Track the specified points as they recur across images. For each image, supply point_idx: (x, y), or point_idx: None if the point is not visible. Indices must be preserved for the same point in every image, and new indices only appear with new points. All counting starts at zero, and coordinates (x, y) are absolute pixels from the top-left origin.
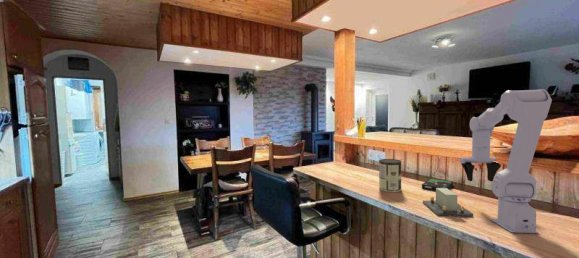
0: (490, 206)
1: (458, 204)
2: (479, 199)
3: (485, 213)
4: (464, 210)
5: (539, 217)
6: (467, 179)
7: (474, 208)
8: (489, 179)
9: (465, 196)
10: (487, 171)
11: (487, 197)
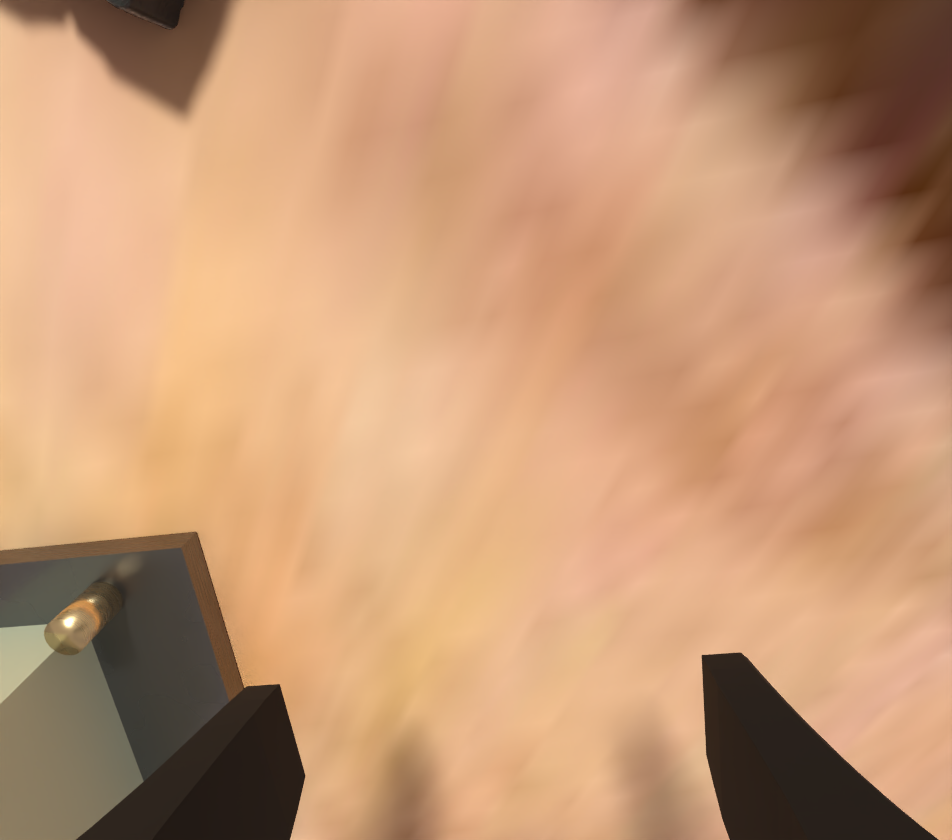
0: (595, 568)
1: (208, 653)
2: (595, 310)
3: (434, 761)
4: None
5: (912, 797)
6: (236, 701)
7: (380, 651)
8: (711, 734)
9: (444, 190)
10: (788, 812)
11: (780, 177)
